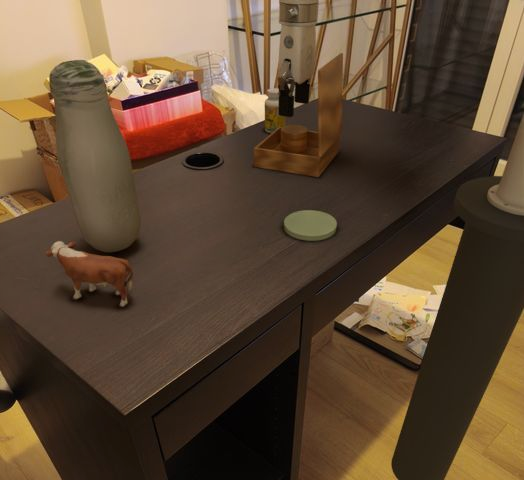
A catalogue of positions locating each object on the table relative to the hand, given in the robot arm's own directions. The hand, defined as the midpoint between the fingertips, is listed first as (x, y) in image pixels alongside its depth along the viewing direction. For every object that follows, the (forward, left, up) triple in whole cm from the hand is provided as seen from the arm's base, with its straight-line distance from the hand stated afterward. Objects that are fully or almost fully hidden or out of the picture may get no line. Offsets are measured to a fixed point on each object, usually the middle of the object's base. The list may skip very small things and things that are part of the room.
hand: (293, 109), depth 103 cm
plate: (-14, +29, -11) cm, 34 cm away
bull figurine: (+9, +61, -11) cm, 63 cm away
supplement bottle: (+11, -16, -11) cm, 22 cm away
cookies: (0, 0, -10) cm, 10 cm away
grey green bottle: (+15, +48, -11) cm, 51 cm away
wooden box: (-1, 0, -11) cm, 11 cm away
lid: (-8, 0, +2) cm, 8 cm away
